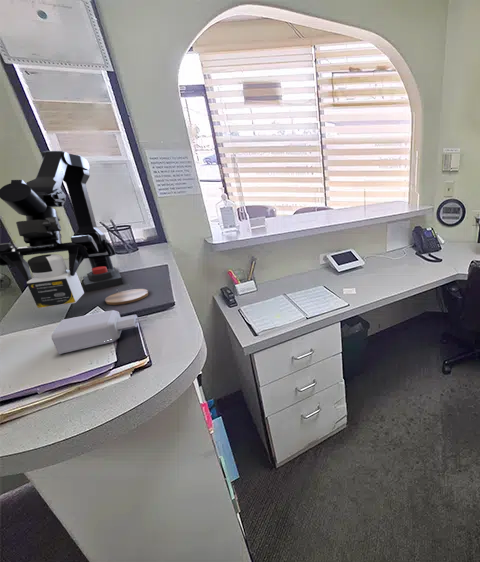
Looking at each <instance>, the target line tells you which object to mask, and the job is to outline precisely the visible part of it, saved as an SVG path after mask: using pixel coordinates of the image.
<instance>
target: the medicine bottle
mask: <svg viewBox="0 0 480 562" xmlns="http://www.w3.org/2000/svg"><path fill="white" fill-rule="evenodd" d="M27 263H28V265H29V269H30V272H31V273H32V276H33V277H31V279H30V280H29V281H28V282H27V281H26V285H27V287H28V290H29V292H30V294H31V296H32V298H33V300H34V302H35V305H36V307H37V309H41V310H42V309H48V308H53V307H59V306H60V307H61V306H66V305H72V304H76V303H77V302H78V301H79V300H80V299H81V298H82V297H83V295H84V294H85V291H84V288H83V285H82V284H81V281H80V277H79V276H78V273H77V272H76V273H75V275H74V276H71V275H70V271H69V269H68V267H67V265H66V263H65V260H64V257H63V256H62V255H61V254H57V253H46V254H40V255H36V256H33V257H31V258H30V259H28V260H27Z"/></svg>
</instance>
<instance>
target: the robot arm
mask: <svg viewBox="0 0 480 562" xmlns="http://www.w3.org/2000/svg"><path fill="white" fill-rule="evenodd" d="M90 168H91V165H90V163H89V161H88V159H86V158H85V157H83V156H82V155H80V154H73V153H69V152H67V151H63V150H46V151H42V162H41V164H40V166H39V169H38V172H37V175H36V176H35V178H34V179H31V180H29V181H26V182H25V181H24V179H11V180H10V183H7V184H5V185H3V186H1V188H0V199H1V200H2V201H3V202H5V204H7V205H8V206H9V207H10V208H11V209H12V210H14V212H15V213H17V214H18V215H21V216H25V220H19V221H16V222H15V224H16V228H17V231H18V235H19V237H22V238H23V242H24V243H25V244H29V245H28V246H19V247H17V246H14V245H13V244H12V243H11V242H4V243H0V266H2V267H4V266H5V267H6V266H10V267H12V268H17V270H18V271H19V272H20V274H21V276H22V277H23V278H24V280H25V281H26V283H27V282H28V281H29V280H30V279H32V277H31V269H30V267H29V265H28V261H27V260H26V259H24V256H31V255H47V254H55V253H61V252H67V253H68V270H69V271H70V275H71V276H74V275H75V273H77V271H78V269H79V267H80V265H81V264H82V263H83V261H84V260H85V259H88V261H89V264H90V267H91V270H92V269H93V268H96V267H101V266H105V267H106V268H107V269H113V271H117V269H116V268H115V267H114V265H113V261H112V258H111V257H112V256H116V254H117V253H116V250H115V247H114V246H113V244H112V243H111V242H110V240H109V239H107V236H106V234H105V233H104V232H103V231H102V230H100V229H99V228H98V226H97V223H96V219H95V214H94V211H93V207H92V203H91V200H90V195H89V192H88V187H87V182H88V181H89V179H90V176H91V175H90V170H91V169H90ZM63 182H64V183H65V184H66V188H67V192H68V195H69V199H70V203H71V207H72V210H73V213H74V217H75V221H76V224H77V228H78V229H77V231H76V232H75V233H73V235H72V236H70V242H62V238H63V236H62V234H61V232H62V227H61V223H60V221H61V219H60V217H59V215H58V212H57V210H56V209H55V208H62V207H64V205H65V203H66V202H67V199H66V198H67V195H66V194H65V192H64V191H63V189H62V184H63Z"/></svg>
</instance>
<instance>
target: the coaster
mask: <svg viewBox="0 0 480 562" xmlns="http://www.w3.org/2000/svg"><path fill="white" fill-rule="evenodd" d="M149 293H150V292H149V290H148V289H145V288H132V289H126V290H122V291H118V292H114V293H113V294H110V295H108V296H106V297H105V299H104V301H105V304H107V305H109V306H110V305H111V306H120V305H126V304H132V303H134V302H135V303H136V302H138V301H141V300H143V299H145V298H147V297H148V296H149Z"/></svg>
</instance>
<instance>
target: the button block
mask: <svg viewBox="0 0 480 562" xmlns="http://www.w3.org/2000/svg"><path fill="white" fill-rule="evenodd" d="M107 271H108V272H105V273H101V274H93V272H92V271H90V272H88V273H86V275H85V276H83V277H82V278H83V284H84V287H85V290H86V292H91V291H96V290H101V289H104V288H111V287H115V286H119V285H123V284H124V281H123V278H122V276H121V274H120V272H119V270H116V271H113V269H107Z"/></svg>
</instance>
